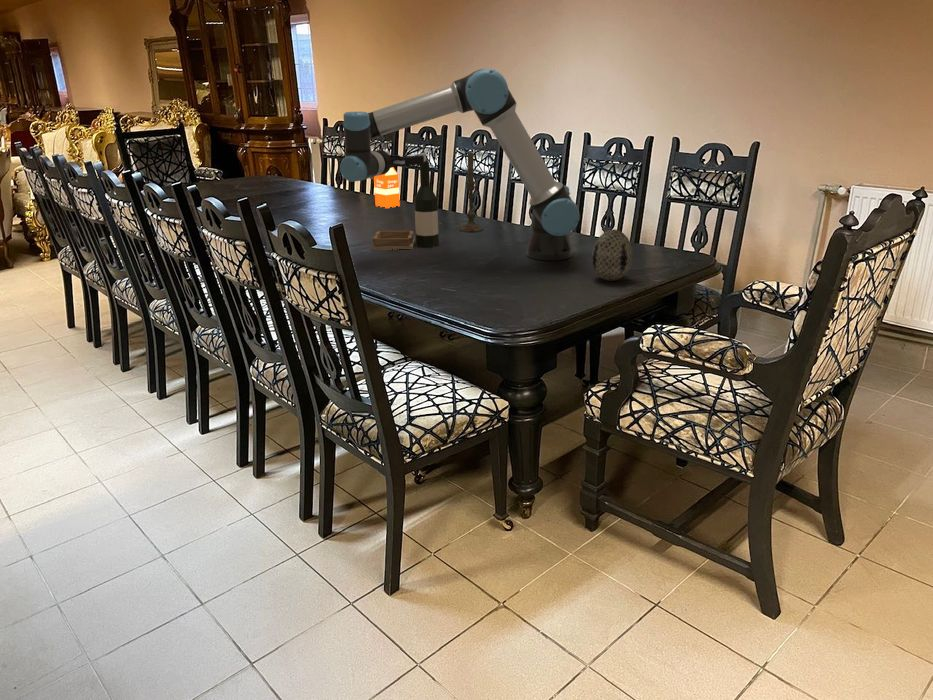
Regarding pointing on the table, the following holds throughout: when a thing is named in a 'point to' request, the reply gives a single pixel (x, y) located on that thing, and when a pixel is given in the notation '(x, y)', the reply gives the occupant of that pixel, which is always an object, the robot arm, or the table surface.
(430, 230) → the wine bottle
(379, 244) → the wooden crate
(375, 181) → the orange juice
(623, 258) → the decorative egg
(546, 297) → the table surface
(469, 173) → the candlestick holder
